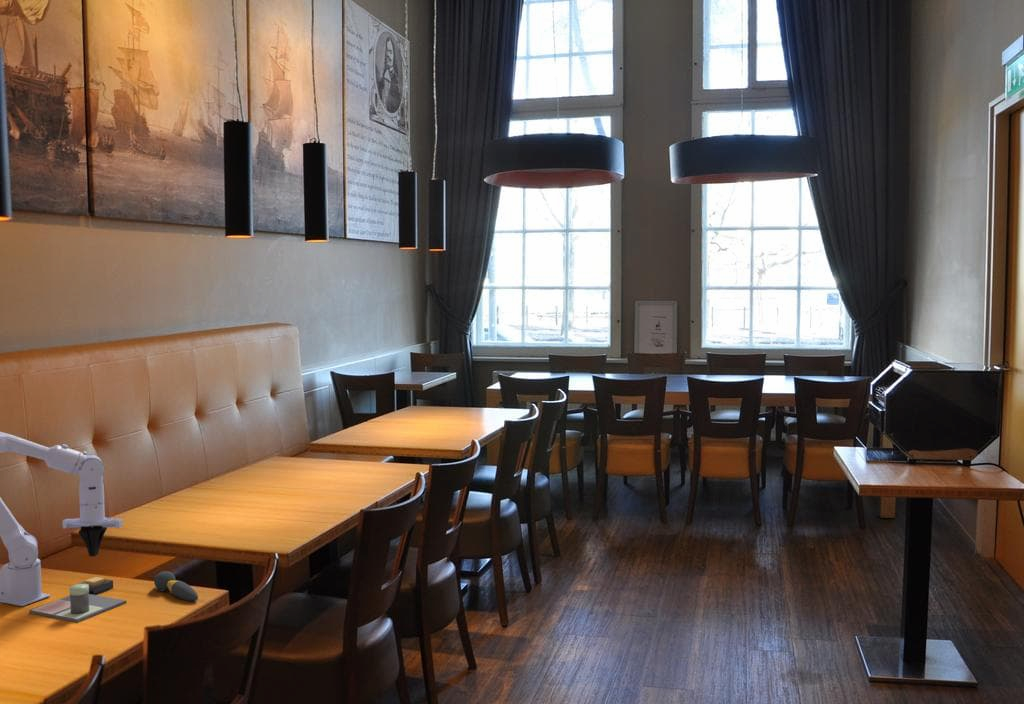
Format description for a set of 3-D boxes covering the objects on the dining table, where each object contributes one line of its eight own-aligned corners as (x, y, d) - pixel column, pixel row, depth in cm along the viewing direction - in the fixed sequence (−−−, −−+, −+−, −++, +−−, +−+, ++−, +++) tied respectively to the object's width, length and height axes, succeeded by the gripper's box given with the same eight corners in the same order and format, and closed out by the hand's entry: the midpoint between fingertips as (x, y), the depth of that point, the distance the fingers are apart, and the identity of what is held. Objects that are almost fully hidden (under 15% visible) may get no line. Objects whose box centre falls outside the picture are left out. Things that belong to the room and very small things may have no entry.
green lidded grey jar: (66, 613, 210) (65, 588, 209) (81, 607, 213) (80, 582, 213) (79, 615, 208) (78, 590, 208) (93, 609, 212) (92, 584, 211)
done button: (85, 588, 227) (84, 580, 227) (95, 584, 230) (95, 576, 230) (94, 589, 226) (94, 582, 226) (104, 586, 229) (104, 578, 229)
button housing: (76, 592, 226) (76, 584, 226) (96, 585, 232) (95, 577, 232) (93, 595, 224) (93, 587, 224) (113, 587, 230) (112, 580, 229)
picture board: (29, 612, 212) (29, 609, 212) (79, 594, 225) (78, 591, 225) (77, 622, 206) (77, 619, 205) (126, 602, 218) (126, 599, 218)
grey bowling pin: (210, 599, 221) (209, 579, 221) (192, 605, 217) (192, 584, 217) (163, 584, 233) (162, 566, 232) (145, 590, 228) (145, 571, 228)
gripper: (55, 506, 223) (57, 559, 224) (112, 506, 223) (114, 559, 224) (69, 499, 230) (71, 551, 231) (125, 499, 230) (127, 551, 231)
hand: (93, 555), depth 228 cm, fingers closed
